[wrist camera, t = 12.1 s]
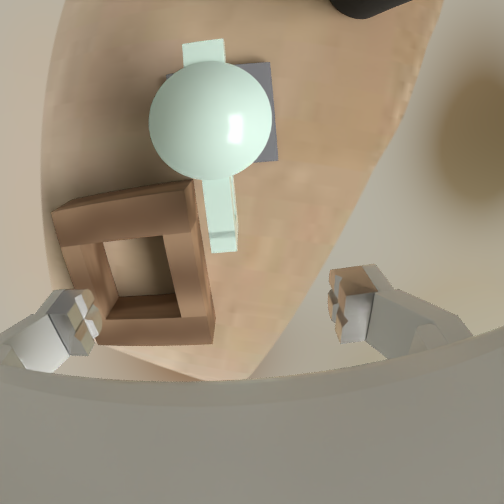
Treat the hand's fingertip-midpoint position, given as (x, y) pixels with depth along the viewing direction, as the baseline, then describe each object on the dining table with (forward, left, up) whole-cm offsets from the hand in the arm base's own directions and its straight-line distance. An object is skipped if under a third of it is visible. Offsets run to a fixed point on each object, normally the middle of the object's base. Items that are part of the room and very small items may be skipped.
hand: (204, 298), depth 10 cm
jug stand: (+6, -9, -17) cm, 20 cm away
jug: (-4, 0, -16) cm, 16 cm away
